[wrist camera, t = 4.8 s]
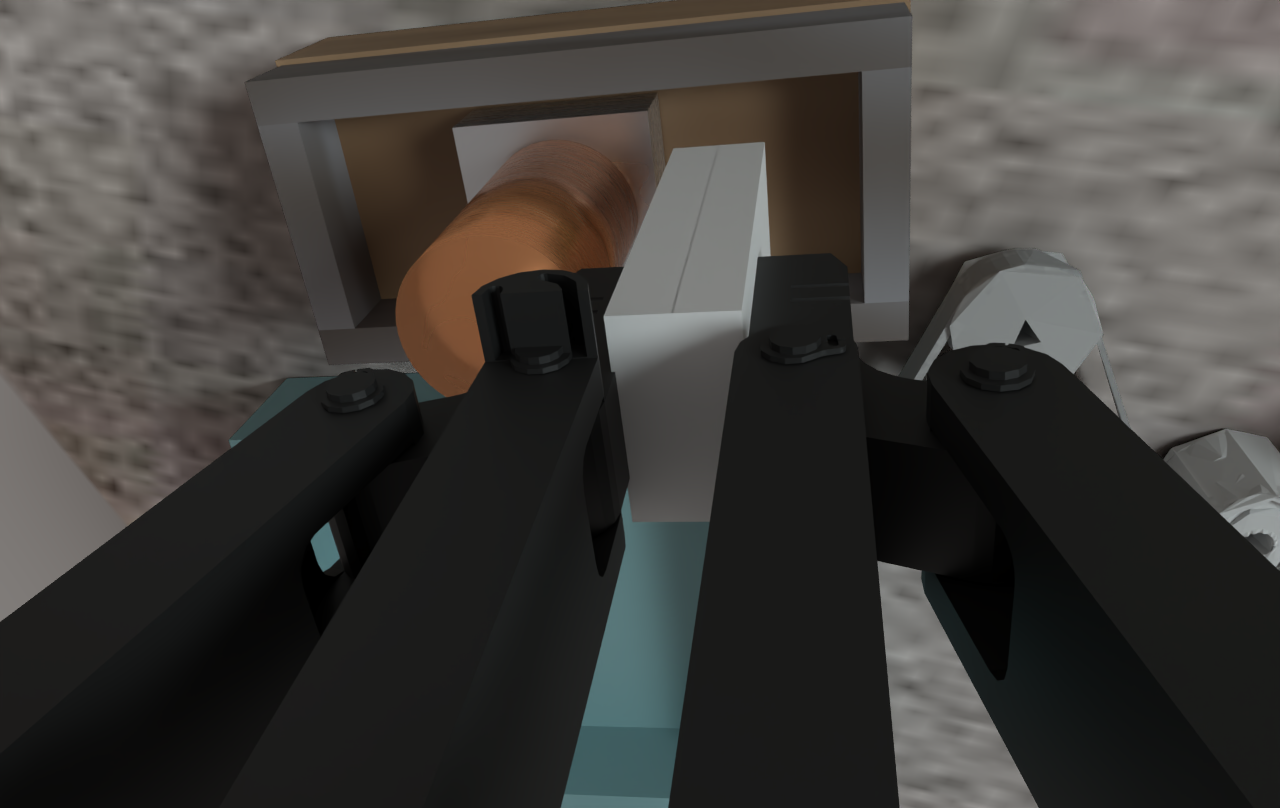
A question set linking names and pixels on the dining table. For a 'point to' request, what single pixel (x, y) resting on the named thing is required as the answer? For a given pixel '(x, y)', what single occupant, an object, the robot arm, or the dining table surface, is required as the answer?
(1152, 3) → the dining table surface
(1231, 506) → the pulley system
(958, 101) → the dining table surface
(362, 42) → the base
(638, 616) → the tray
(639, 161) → the copper rounded cylinder
